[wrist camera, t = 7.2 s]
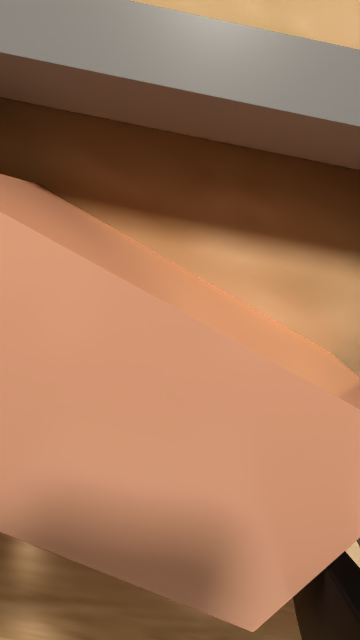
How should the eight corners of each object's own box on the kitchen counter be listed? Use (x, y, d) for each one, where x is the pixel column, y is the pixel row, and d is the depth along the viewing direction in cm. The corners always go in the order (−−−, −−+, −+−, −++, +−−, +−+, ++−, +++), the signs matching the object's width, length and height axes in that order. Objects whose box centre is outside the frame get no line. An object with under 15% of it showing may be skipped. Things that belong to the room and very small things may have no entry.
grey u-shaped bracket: (351, 485, 11) (398, 560, 8) (-85, 410, 10) (-168, 467, 8) (515, 154, 7) (679, 118, 5) (-137, 19, 7) (-318, -95, 4)
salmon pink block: (228, 473, 11) (253, 632, 7) (-23, 354, 10) (-190, 457, 5) (328, 350, 9) (448, 458, 5) (39, 184, 8) (-135, 137, 4)
